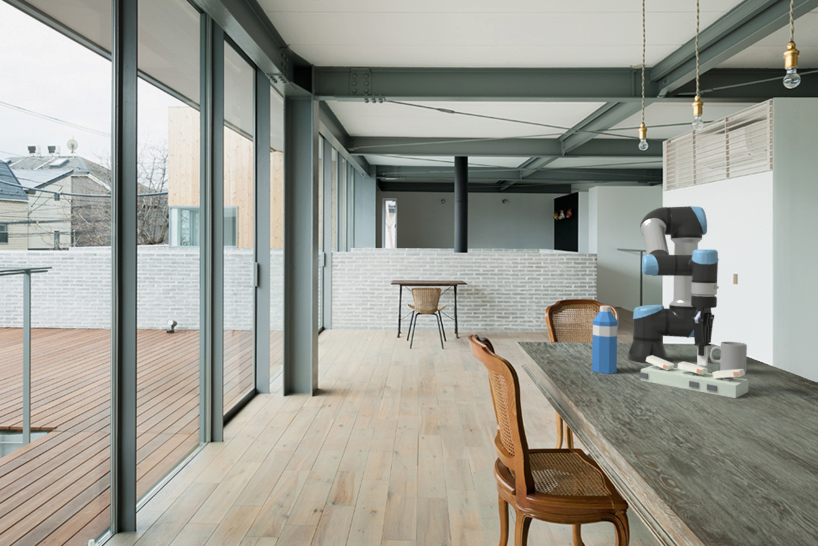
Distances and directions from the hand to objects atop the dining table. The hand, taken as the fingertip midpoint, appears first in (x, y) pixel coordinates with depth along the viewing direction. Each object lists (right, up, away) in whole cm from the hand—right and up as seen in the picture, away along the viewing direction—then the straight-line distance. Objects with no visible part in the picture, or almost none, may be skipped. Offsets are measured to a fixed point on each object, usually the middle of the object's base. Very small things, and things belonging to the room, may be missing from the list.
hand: (702, 364), depth 175 cm
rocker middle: (-2, -1, +2) cm, 3 cm away
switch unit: (-2, -8, +2) cm, 8 cm away
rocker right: (+5, -2, -6) cm, 8 cm away
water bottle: (-24, -7, +25) cm, 35 cm away
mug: (+24, -7, +24) cm, 35 cm away
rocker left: (-9, -1, +10) cm, 14 cm away
